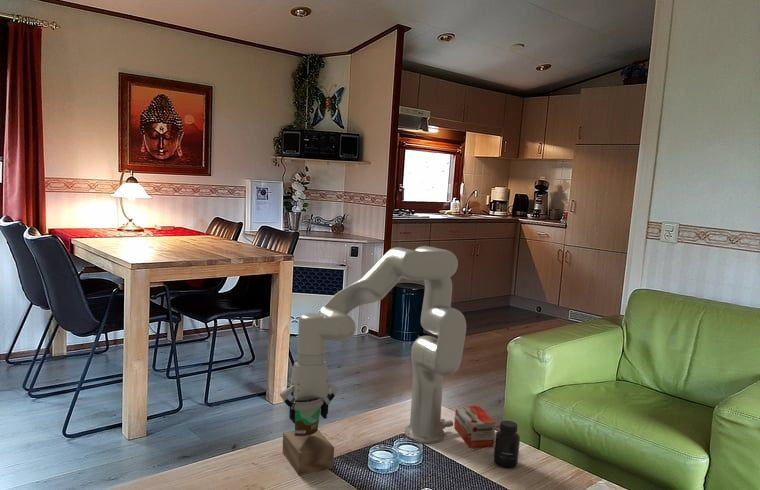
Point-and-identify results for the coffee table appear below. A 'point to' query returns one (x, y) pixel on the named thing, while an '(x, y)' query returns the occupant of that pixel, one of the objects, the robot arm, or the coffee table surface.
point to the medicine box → (474, 426)
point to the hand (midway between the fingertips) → (308, 418)
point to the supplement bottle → (507, 445)
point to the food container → (307, 416)
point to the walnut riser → (308, 452)
